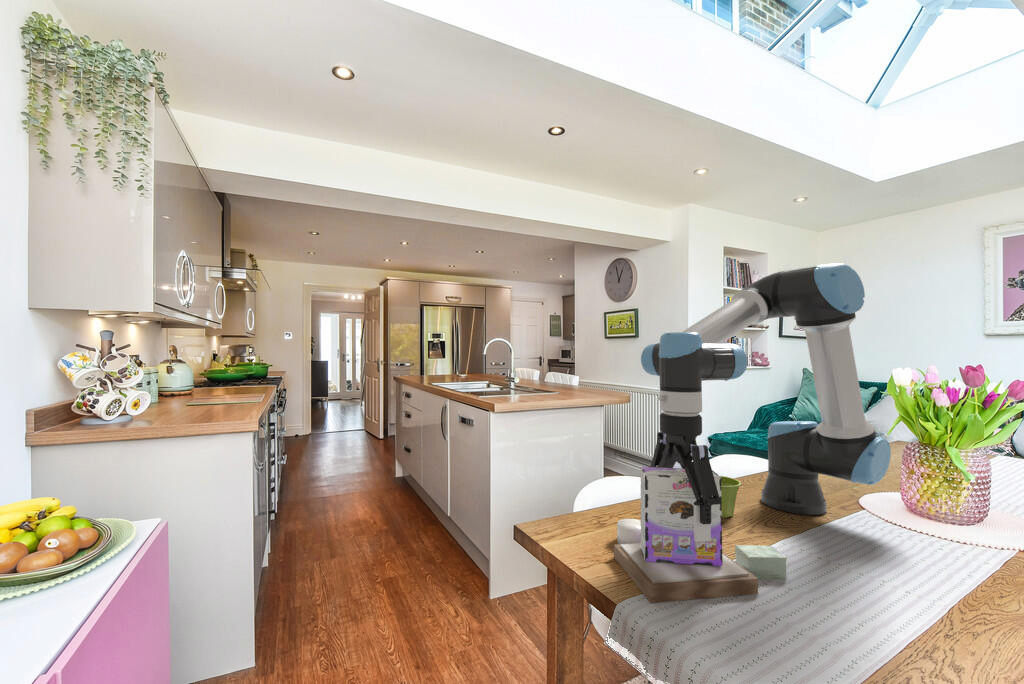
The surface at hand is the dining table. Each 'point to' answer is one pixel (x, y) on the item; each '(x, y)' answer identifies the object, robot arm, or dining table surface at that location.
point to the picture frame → (683, 577)
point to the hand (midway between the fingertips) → (681, 525)
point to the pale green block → (761, 560)
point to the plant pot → (728, 495)
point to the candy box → (676, 519)
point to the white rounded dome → (628, 531)
